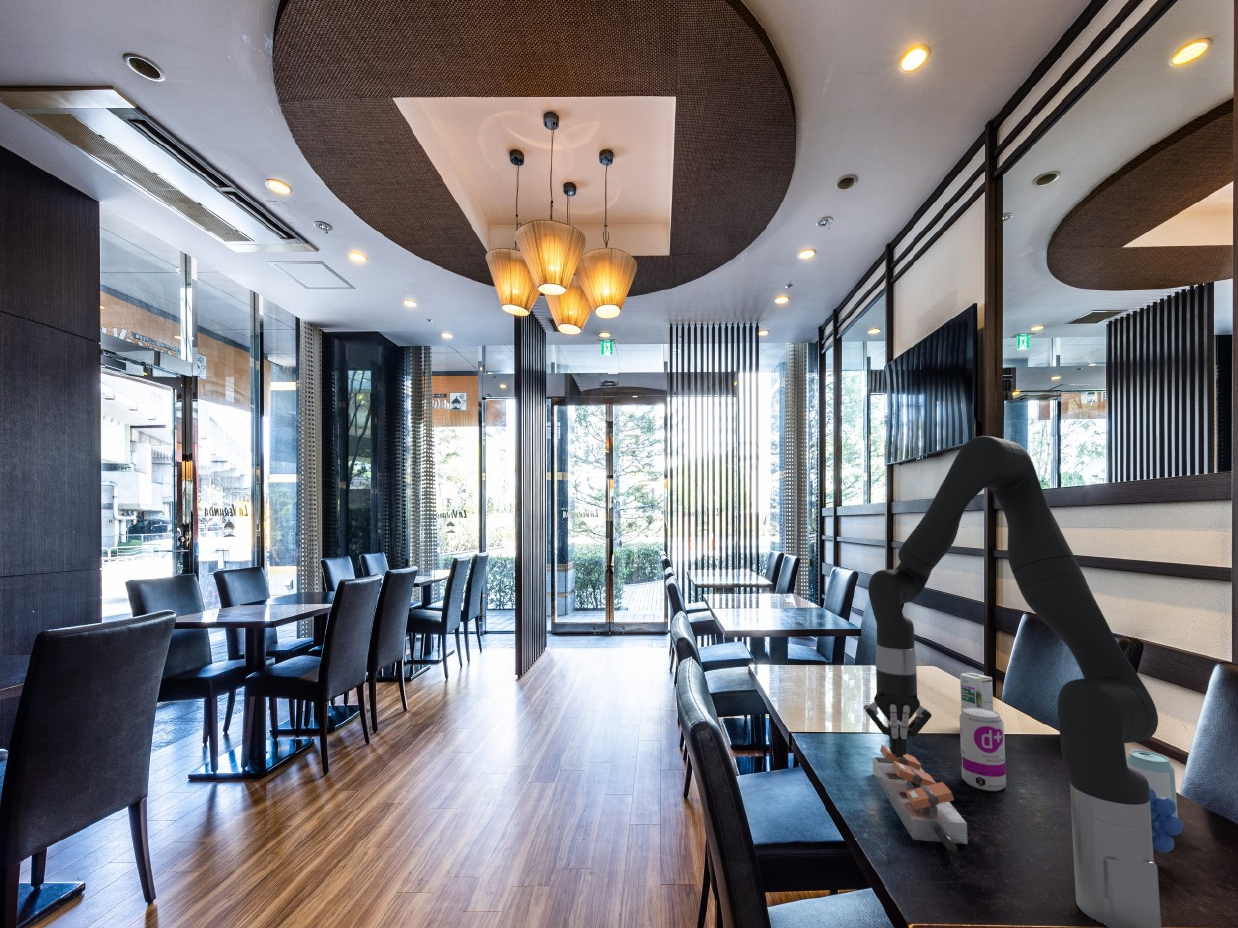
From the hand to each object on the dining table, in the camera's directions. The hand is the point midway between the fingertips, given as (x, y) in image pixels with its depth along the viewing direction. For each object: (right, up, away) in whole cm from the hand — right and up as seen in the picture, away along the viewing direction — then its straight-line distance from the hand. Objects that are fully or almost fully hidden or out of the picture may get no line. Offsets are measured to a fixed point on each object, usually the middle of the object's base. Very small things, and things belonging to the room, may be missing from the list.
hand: (898, 756), depth 123 cm
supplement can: (+22, -10, +9) cm, 26 cm away
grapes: (+32, -8, -19) cm, 38 cm away
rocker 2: (+3, -3, -1) cm, 4 cm away
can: (+45, -9, -7) cm, 47 cm away
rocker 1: (+4, -4, +8) cm, 10 cm away
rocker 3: (+1, -3, -10) cm, 10 cm away
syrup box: (+41, -13, +42) cm, 60 cm away
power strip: (+2, -9, -4) cm, 10 cm away
